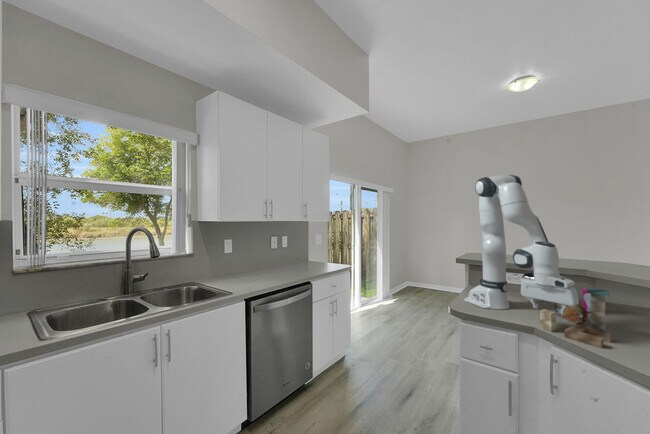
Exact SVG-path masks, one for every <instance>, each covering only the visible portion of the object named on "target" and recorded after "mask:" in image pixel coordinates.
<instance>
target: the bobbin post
mask: <svg viewBox="0 0 650 434" xmlns="http://www.w3.org/2000/svg"><path fill="white" fill-rule="evenodd" d="M585 288H586V292H588V293H590V305H591V313H590V326H588V325H587V326H588V327H591V328H595V329H599V330H603V331H607V332H610V330H608V329H606V296H610V291H609V290H608V289H603V288H596V287H585Z"/></svg>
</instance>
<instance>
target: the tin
mask: <svg viewBox="0 0 650 434" xmlns="http://www.w3.org/2000/svg"><path fill="white" fill-rule="evenodd" d="M562 308H563V307H562V306H561V304H559V303H555V304H554V309H555V310H554V311H555V312H556V314H557V315H558V316H559V317H560V318H563V319H564V320H568V321H569V322H572V323H575V324H584V323H586V322H587V320H588V318H589V317H588V316H589V314H588V312H587V311H586V309H585V308H584V307H583V305H580V304H579V303H578V304H577V305H576V306H569V305H568V307H567V308H566V309H565V314H564V315H562V314H559V313H558V312H559V311H558V310H560V309H562Z"/></svg>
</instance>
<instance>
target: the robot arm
mask: <svg viewBox="0 0 650 434" xmlns="http://www.w3.org/2000/svg"><path fill="white" fill-rule="evenodd" d="M522 182H523V181H522V179H521V178H520V177H519V176H518V175H514V174H509V175H506V174H501V175H500V174H499V175H494V176H493V175H492V176H484V177H481V178H479V179H478V180H476V182H475V184H474V186H475V187H474V189H475V190H474V191H475V193H476V194H477V195H478V197H479V198H478V213H479V225H480V230H481V237H482V238H481V240H482V242H481V257H482V258H481V259H482V278H480V279H478V280H477V281H478V283H479V285H476V286H475V287H473V288H471V289H470V290H469V293H468V296H467V297H464V301H465V302H467V303H470V304H472V305H475V306H478V307H480V308H484V309H491V310H492V309H493V310H509V309H510V308H511V306H510V303H509V300H508V293H507V291H508V281H507V244H506V237H505V226H504V224H505V223H504V219H505V220H507V221H508V222H510V223H513V224H516V225H518V226H520V227H522V228H524V230H526V231H527V232H528V235H529V237H530V239H531V242H532V244H531V245H528V246H525V247H521V248H518V249H515V250H514V252H513V254H512V260H513V263H514V265H516V267H518V268H520V269H525V270H527V269H529V270H530V269H532V270H533V273H534V277H527V276H524V277H522V276H521V278H520V294H521V296H522V297H525V298H526V297H529V298H530V302H531V304H532V308H533V309H536V310H537V309H539V305H540V304H539V303H538V302H535V300H536V299H539V300H542V301H545V302H549V303H559V304H561V306H562V307H563V308H562V309H560V310H558V311H559V312H558V313H559V314H562V315H564V314H565V309H566V308H567V307H568V305H569V306H576V305H577V304H578V305H579V295H578V294H579V293H578V291H577V289H576V287H574V286H575V284H576V283H575V281H574V280H572V279H570V278H567V277H565V276H562V275H560V270H559V265H560V259H559V251H558V248H557V246H556V245H555V244H554V243H552V242H550V241H549V240H548V237H547V235H546V233H545V230H544V228H543V226H542V223H541V221H540V219H539V218H538V216H537V215H535V213H534V212H533V211H532V209H531V207H530V205H529V201H528V198H527V195H526V192H525V190H524V188H523V186H522V185H523V183H522Z"/></svg>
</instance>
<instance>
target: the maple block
mask: <svg viewBox="0 0 650 434" xmlns="http://www.w3.org/2000/svg"><path fill="white" fill-rule="evenodd" d="M539 313H540V314H539V319H540V320H539V322H540V323H539V324H540V326H539V328H540V330H543V331H546V332H549V333H550V332H551V333H552V332H554V331H556V330H557V329H556V327H557V326H556V318H557V316H556V314H557V313H556V311H555V310H551V309H546V308H545V309H541V310H540V311H539Z"/></svg>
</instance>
